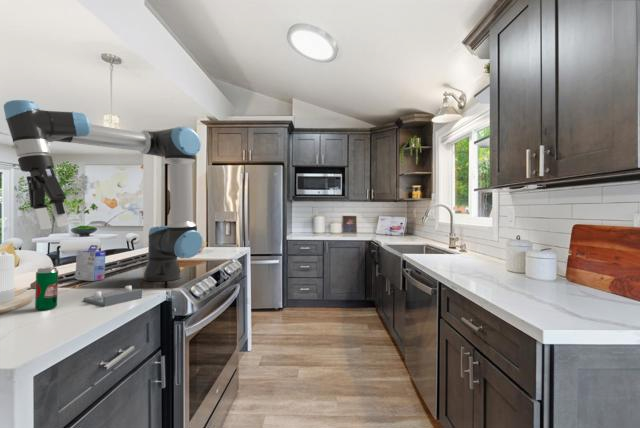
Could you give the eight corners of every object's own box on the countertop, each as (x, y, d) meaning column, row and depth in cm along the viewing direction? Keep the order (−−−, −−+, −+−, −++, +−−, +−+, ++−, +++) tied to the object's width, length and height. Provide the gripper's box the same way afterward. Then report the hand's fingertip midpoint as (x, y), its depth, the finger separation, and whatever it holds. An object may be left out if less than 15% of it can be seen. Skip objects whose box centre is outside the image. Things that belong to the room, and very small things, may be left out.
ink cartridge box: (105, 279, 138) (106, 245, 138) (94, 281, 133) (95, 246, 133) (86, 277, 140) (87, 244, 140) (74, 280, 135) (75, 245, 135)
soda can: (47, 311, 93) (48, 270, 93) (30, 310, 93) (31, 269, 93) (61, 306, 98) (62, 267, 98) (45, 305, 98) (46, 266, 98)
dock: (120, 293, 115) (120, 283, 115) (141, 298, 110) (142, 287, 110) (83, 300, 105) (83, 290, 105) (104, 306, 99) (105, 295, 99)
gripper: (4, 164, 97) (24, 232, 99) (32, 148, 83) (54, 227, 86) (36, 163, 103) (54, 227, 106) (66, 147, 89) (86, 221, 92)
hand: (54, 227), depth 96 cm, fingers open, 13 cm apart
